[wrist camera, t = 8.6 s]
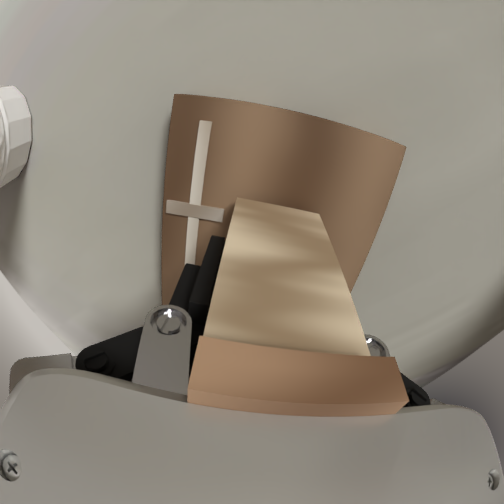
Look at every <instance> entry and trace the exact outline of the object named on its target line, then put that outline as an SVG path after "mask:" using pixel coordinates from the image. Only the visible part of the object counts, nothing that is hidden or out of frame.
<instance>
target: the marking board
mask: <svg viewBox="0 0 504 504" xmlns="http://www.w3.org/2000/svg"><path fill="white" fill-rule="evenodd" d="M405 150H406V147H405V146H403V145H401V144H399V143H396V142H394V141H391V140H389V139H386V138H383V137H381V136H378V135H375V134H372V133H369V132H366V131H363V130H360V129H357V128H354V127H351V126H347V125H344V124H341V123H337V122H334V121H331V120H327V119H323V118H320V117H316V116H312V115H308V114H304V113H300V112H295V111H291V110H287V109H282V108H277V107H272V106H267V105H262V104H256V103H251V102H244V101H238V100H231V99H224V98H216V97H208V96H198V95H187V94H174V99H173V106H172V114H171V121H170V130H169V138H168V148H167V158H166V170H165V183H164V199H163V220H162V305H169V303H170V300H171V298H172V295H173V293H174V291H175V288H176V286H177V283H178V281H179V278H180V276H181V273H182V271H183V269H184V266H185V264H186V263H189V264H194V265H199V266H201V264H202V261H203V258H204V255H205V253H206V250H207V247H208V244H209V241H210V238H211V236H212V235H214V236H220V237H225V241H226V238H227V234H228V230H229V226H230V223H231V219H232V215H233V211H234V207H235V203H236V200H237V197H238V198H243V199H248V200H254V201H259V202H264V203H269V204H274V205H279V206H284V207H289V208H294V209H299V210H303V211H308V212H312V213H317V214H319V215H320V217H321V220H322V222H323V224H324V227H325V229H326V232H327V234H328V236H329V239H330V241H331V244H332V246H333V249H334V252H335V254H336V257H337V259H338V262H339V264H340V267H341V270H342V272H343V275H344V278H345V280H346V283H347V286H348V289H349V292H350V293H351V291H352V289H353V286H354V284H355V282H356V280H357V278H358V276H359V273H360V271H361V269H362V267H363V264H364V262H365V260H366V258H367V255H368V253H369V250H370V248H371V246H372V243H373V241H374V238H375V236H376V233H377V231H378V228H379V226H380V223H381V221H382V218H383V215H384V213H385V210H386V207H387V205H388V202H389V199H390V196H391V194H392V191H393V188H394V185H395V182H396V179H397V176H398V173H399V170H400V167H401V163H402V160H403V157H404V154H405ZM189 380H190V378H189Z"/></svg>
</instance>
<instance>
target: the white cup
mask: <svg viewBox="0 0 504 504" xmlns="http://www.w3.org/2000/svg"><path fill="white" fill-rule="evenodd" d="M31 142H32V129H31V114H30V111H29V108H28V105H27V101H26V98H25V96H24V95H23V94H22V93H21V92H20V91H19V90H18V89H17V88H16V87H15V86H0V188H1V187H2V186H4V185H5V184H7V183H9V182H10V181H12V180H13V179H15V178H17V177H18V175H19V174H20V172H21V171H22V169H23V167H24V166H25V164H26V163H27V160H28V155H29V151H30V146H31Z"/></svg>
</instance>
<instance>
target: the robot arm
mask: <svg viewBox="0 0 504 504" xmlns="http://www.w3.org/2000/svg"><path fill="white" fill-rule="evenodd" d="M225 242H226V241H225V237H220V236H214V235H212V236H211V238H210V241H209V244H208V247H207V250H206V253H205V255H204V258H203V261H202V264H201V266H199V265H194V264H189V263H186V264H185V266H184V269H183V271H182V273H181V276H180V278H179V281H178V283H177V286H176V288H175V291H174V293H173V295H172V298H171V300H170V303H169V305H161V306H157V307H155V308H153V309H152V310H151V311H150V312H149V313H148V314H147V316H146V318H145V322H144V326H143V327H140V328H137V329H135V330H132V331H129V332H127V333H124V334H121V335H119V336H116V337H113V338H111V339H108V340H105V341H102V342H100V343H97V344H94V345H91V346H89V347H87V348H85V349H83V350H82V351H81V352H80V353H79V354H78V356H71V353H69V354H60V355H52V356H41V357H29V358H23V359H19V360H18V361H17V362H15V363H14V365H13V366H12V367H11V371H10V384H9V385H10V386H9V389H10V390H9V396H8V397H7V399H6V401H5V402H4V404H3V406H2V408H1V410H0V504H504V477H503V473H502V468H501V463H500V460H499V456H498V452H497V449H496V446H495V443H494V440H493V437H492V435H491V432H490V429H489V428H488V425H487V423H486V421H485V420H484V418H483V417H482V416H481V415H480V414H479V413H477V412H476V411H474V410H472V409H469V408H466V407H462V406H456V405H446V404H444V403H442V402H440V401H437V400H435V399H433V398H432V399H431V400H430V399H429V396H428V395H427V393H426V392H425V391H424V390H423V389H422V388H421V387H419V386H418V385H417V384H415V383H414V382H413V381H411V380H410V379H409V378H407V377H406V376H405V375H403V374H402V373H401V372H400V374H401V377H402V380H403V383H404V386H405V389H406V392H407V395H408V399H409V402H408V403H407V404H405V405H404V406H403V407H402V408H401V409H400V410H399V411H398V412H397V413H396V414H388V415H374V416H350V417H314V416H289V415H275V414H263V413H253V412H245V411H236V410H229V409H222V408H215V407H209V406H203V405H198V404H193V403H187V393H188V384H189V378H190V375H191V371H192V366H193V362H194V358H195V353H196V349H197V345H198V340H199V336H203V334H204V330H205V325H206V321H207V317H208V312H209V308H210V304H211V299H212V295H213V291H214V287H215V283H216V279H217V274H218V270H219V266H220V262H221V258H222V254H223V250H224V246H225ZM364 336H365V339H366V342H367V345H368V349H369V352H370V355H371V356H381V357H390V354H389V350H388V348H387V346H386V345H385V344H384V343H383V342H382V341H381V340H380V339H378V338H377V337H375V336H372V335H366V334H364Z"/></svg>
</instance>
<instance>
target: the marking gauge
mask: <svg viewBox="0 0 504 504" xmlns="http://www.w3.org/2000/svg"><path fill="white" fill-rule="evenodd" d="M408 402H409V399H408V395H407V392H406V389H405V386H404V383H403V380H402V377H401V374H400V371H399V368H398V365H397V362H396V360H395V357H381V356H371V355H370V352H369V349H368V345H367V342H366V339H365V336H364V333H363V330H362V327H361V324H360V321H359V318H358V315H357V312H356V309H355V306H354V303H353V300H352V297H351V294H350V292H349V289H348V286H347V283H346V280H345V278H344V275H343V272H342V270H341V267H340V264H339V262H338V259H337V257H336V254H335V252H334V249H333V246H332V244H331V241H330V239H329V236H328V234H327V232H326V229H325V227H324V224H323V222H322V220H321V217H320V215H319V214H317V213H312V212H308V211H303V210H299V209H294V208H289V207H284V206H279V205H274V204H269V203H264V202H259V201H254V200H248V199H243V198H238V197H237V200H236V203H235V207H234V211H233V215H232V219H231V223H230V226H229V230H228V234H227V238H226V242H225V246H224V250H223V254H222V258H221V262H220V266H219V270H218V274H217V279H216V283H215V287H214V291H213V295H212V299H211V304H210V308H209V312H208V317H207V321H206V325H205V330H204V334H203V336H199V340H198V345H197V349H196V353H195V358H194V362H193V366H192V371H191V375H190V380H189V384H188V393H187V403H193V404H198V405H203V406H209V407H215V408H222V409H229V410H236V411H245V412H253V413H263V414H275V415H289V416H314V417H350V416H374V415H388V414H396V413H397V412H398V411H399V410H400V409H401V408H402V407H403V406H404V405H405V404H407V403H408Z"/></svg>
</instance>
